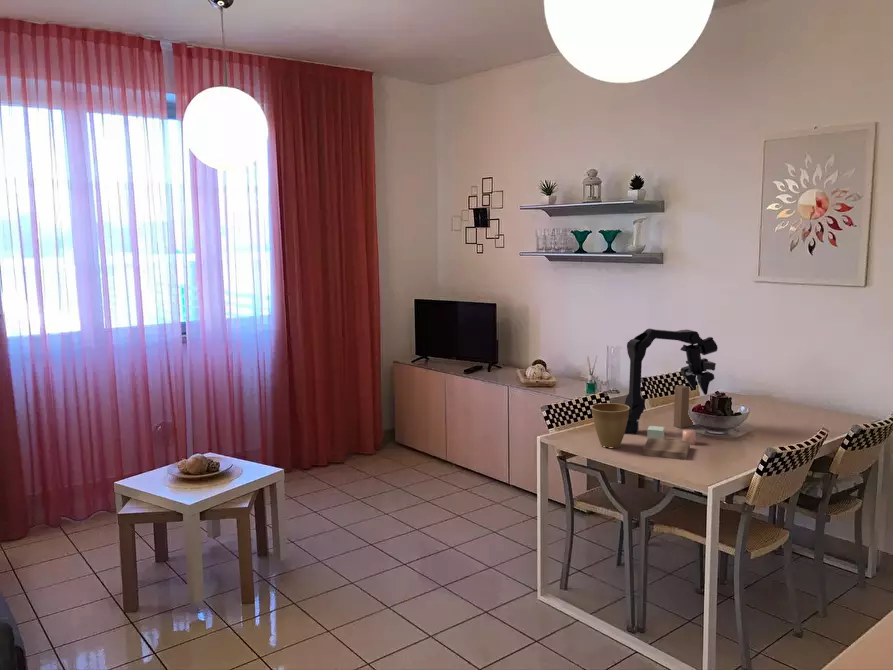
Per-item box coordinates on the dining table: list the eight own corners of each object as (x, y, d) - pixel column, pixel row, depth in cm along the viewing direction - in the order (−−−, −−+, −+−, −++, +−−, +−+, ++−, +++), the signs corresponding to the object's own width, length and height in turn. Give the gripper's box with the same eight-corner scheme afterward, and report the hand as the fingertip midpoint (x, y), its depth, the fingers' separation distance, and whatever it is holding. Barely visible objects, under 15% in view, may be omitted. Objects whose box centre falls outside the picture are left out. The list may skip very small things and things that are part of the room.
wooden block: (687, 423, 323) (689, 383, 321) (695, 425, 319) (697, 385, 317) (673, 426, 319) (674, 386, 316) (681, 428, 315) (682, 388, 313)
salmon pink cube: (681, 444, 293) (682, 432, 292) (682, 440, 297) (683, 428, 297) (694, 445, 291) (695, 433, 290) (695, 441, 295) (696, 430, 295)
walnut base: (642, 455, 279) (642, 448, 279) (648, 443, 294) (648, 437, 293) (686, 459, 273) (686, 453, 272) (689, 447, 287) (690, 441, 287)
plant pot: (624, 440, 299) (625, 402, 297) (632, 451, 284) (633, 411, 282) (588, 440, 299) (588, 402, 297) (594, 451, 285) (594, 411, 282)
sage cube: (647, 441, 298) (647, 429, 297) (649, 437, 303) (649, 425, 302) (662, 442, 295) (662, 430, 294) (664, 438, 301) (664, 427, 300)
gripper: (722, 357, 305) (728, 391, 308) (700, 349, 324) (705, 382, 327) (698, 364, 304) (704, 399, 307) (677, 356, 322) (683, 389, 325)
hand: (700, 392), depth 316 cm, fingers open, 9 cm apart
